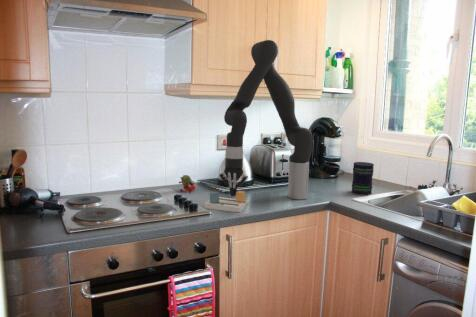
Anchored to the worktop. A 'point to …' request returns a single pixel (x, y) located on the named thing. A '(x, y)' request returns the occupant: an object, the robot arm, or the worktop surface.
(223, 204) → the console
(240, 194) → the fader orange
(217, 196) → the fader teal
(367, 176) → the storage jar
